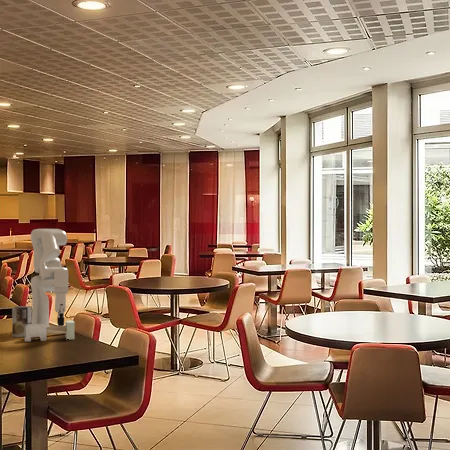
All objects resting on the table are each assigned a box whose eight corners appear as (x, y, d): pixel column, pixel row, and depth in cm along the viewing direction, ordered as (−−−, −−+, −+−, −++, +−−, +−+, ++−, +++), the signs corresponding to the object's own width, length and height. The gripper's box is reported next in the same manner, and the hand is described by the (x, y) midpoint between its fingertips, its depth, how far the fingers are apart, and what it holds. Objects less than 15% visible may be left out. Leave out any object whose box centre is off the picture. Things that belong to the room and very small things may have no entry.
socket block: (65, 337, 363) (65, 320, 363) (73, 337, 364) (73, 320, 364) (66, 339, 355) (66, 322, 355) (74, 339, 356) (74, 322, 356)
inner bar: (37, 333, 356) (38, 315, 356) (70, 331, 361) (70, 314, 361) (38, 334, 353) (38, 316, 353) (70, 332, 358) (70, 315, 358)
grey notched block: (24, 339, 356) (24, 324, 356) (45, 338, 359) (45, 323, 359) (24, 341, 348) (25, 326, 348) (46, 340, 352) (46, 325, 352)
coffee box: (32, 335, 370) (32, 306, 370) (27, 337, 363) (27, 307, 364) (16, 334, 371) (16, 306, 371) (11, 336, 364) (11, 307, 364)
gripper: (52, 289, 365) (52, 322, 365) (54, 292, 349) (54, 327, 349) (66, 289, 367) (66, 322, 367) (69, 291, 352) (69, 326, 351)
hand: (60, 324), depth 358 cm, fingers open, 3 cm apart
